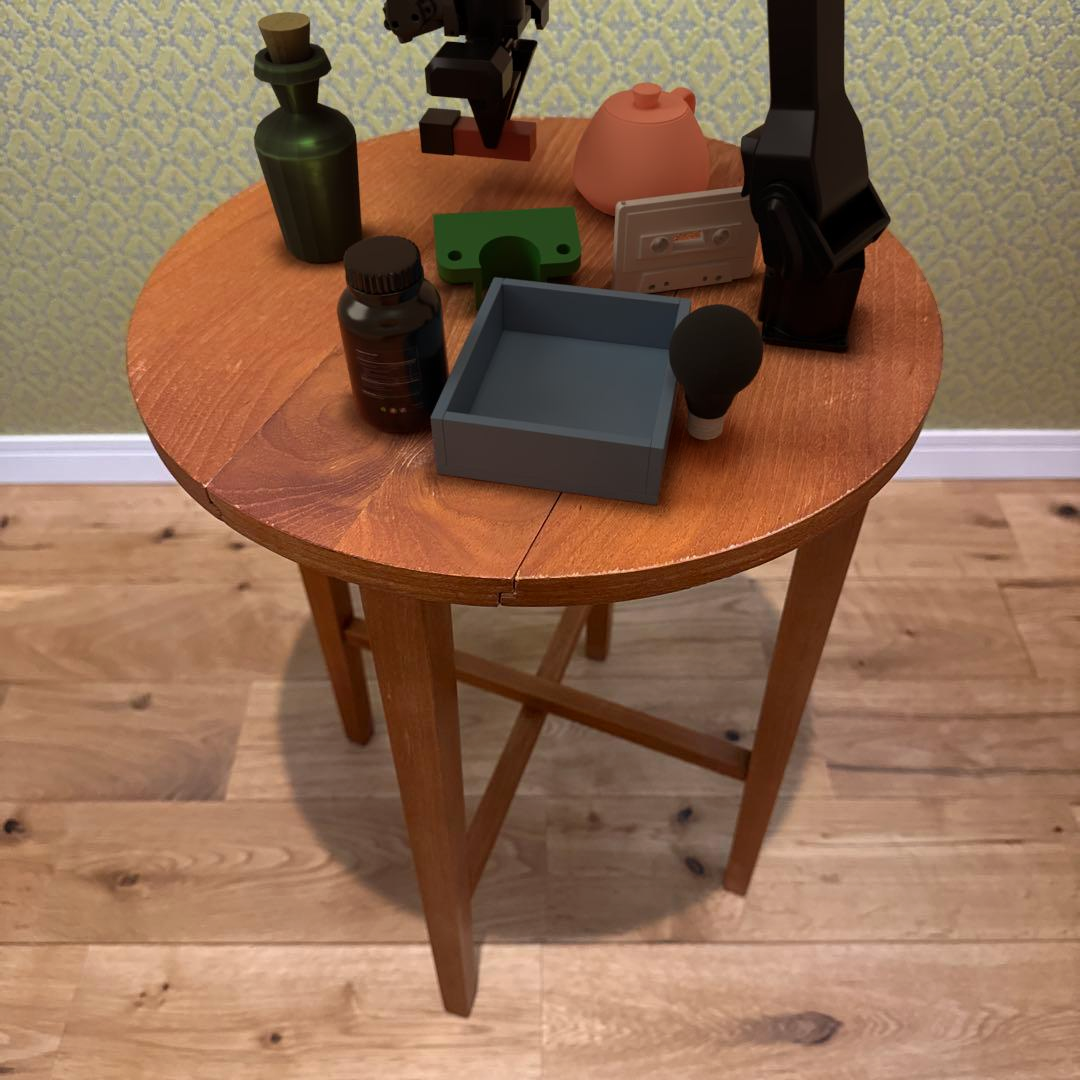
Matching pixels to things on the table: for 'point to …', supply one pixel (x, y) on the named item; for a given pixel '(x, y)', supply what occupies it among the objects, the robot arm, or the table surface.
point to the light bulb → (714, 363)
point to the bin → (563, 391)
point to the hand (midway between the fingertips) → (495, 140)
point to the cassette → (683, 241)
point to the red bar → (474, 137)
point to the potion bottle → (306, 146)
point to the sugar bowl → (641, 148)
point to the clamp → (506, 246)
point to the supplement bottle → (392, 334)
